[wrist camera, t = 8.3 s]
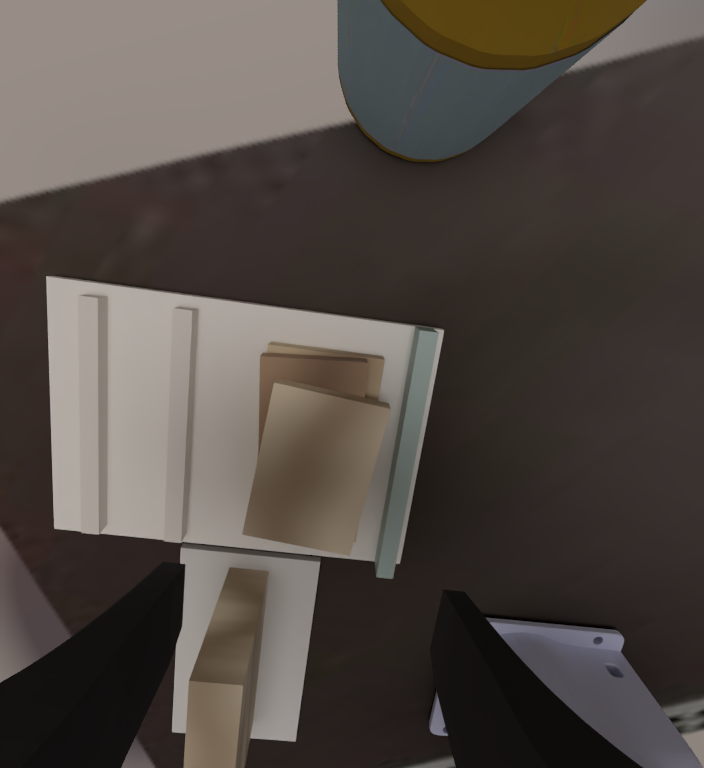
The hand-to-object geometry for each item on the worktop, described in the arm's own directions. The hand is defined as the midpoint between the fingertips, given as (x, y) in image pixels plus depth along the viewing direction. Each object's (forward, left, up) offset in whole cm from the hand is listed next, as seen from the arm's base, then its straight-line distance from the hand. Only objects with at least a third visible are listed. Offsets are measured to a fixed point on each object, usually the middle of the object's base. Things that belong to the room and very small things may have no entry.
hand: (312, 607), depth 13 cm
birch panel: (+3, +11, -10) cm, 15 cm away
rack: (+4, -1, -10) cm, 11 cm away
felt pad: (+3, +12, -10) cm, 15 cm away
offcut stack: (+1, -1, -9) cm, 9 cm away
